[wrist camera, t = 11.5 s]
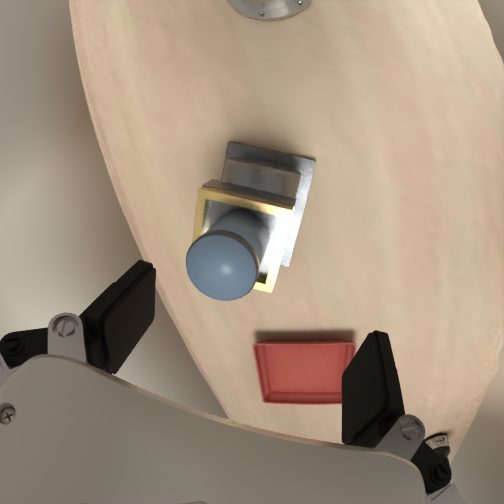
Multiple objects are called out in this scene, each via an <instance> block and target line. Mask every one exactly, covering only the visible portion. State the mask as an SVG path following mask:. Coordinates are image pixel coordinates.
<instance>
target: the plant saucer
mask: <svg viewBox="0 0 504 504" xmlns="http://www.w3.org/2000/svg"><path fill="white" fill-rule="evenodd" d="M253 352H254V357H255V363H256V368H257V374H258V379H259V385H260V390H261V396H262V401H263V402H264V403H274V404H302V405H306V404H307V405H325V404H342V374H343V372H344V371H345V369H346V368H347V366H348V365H349V363H350V362H351V360H352V359H353V357H354V356H355V354H356V344H355V343H353V342H350V341H345V340H331V341H262V342H258V343H255V344H254V345H253Z"/></svg>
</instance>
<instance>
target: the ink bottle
mask: <svg viewBox="0 0 504 504" xmlns="http://www.w3.org/2000/svg"><path fill="white" fill-rule="evenodd" d="M424 442H426V443H427V444H428V445H429V446H430V447H431V448H432V449H433V450H434V451H435V452H436V453H437V454H438V455H439V456H440V457H441V458H443V459H444V460H445V461H446V462H447V463H448V465H449V460H448V457H447V456H448V455H449V453H450V447H449V442H448V437H447V435H446V434H436V435H433V436H430V437H428V438H427V439H425V440H424Z"/></svg>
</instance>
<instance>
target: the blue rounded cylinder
mask: <svg viewBox="0 0 504 504" xmlns="http://www.w3.org/2000/svg"><path fill="white" fill-rule="evenodd" d="M267 246H268V233H267V230H266V228H265V226H264V224H263V223H262V222H261V221H260V220H259V219H258V218H257V217H256V216H254V215H253V214H251V213H248V212H245V211H231V212H228V213H226V214H224V215H223V216H221V217H220V218H219V219H218V220H217V221H216V222H215V223H214V224H213V225H212V226H211V227H210V228H209V229H208V230H207V231H206V233H204V234H202V235H201V236H199V237H198V238H197V239H196V240H195V241H194V242H193V243H192V245H191V246H190V248H189V250H188V252H187V256H186V268H187V273H188V275H189V278H190V280H191V281H192V283H193V284H194V285H195V287H196V288H197V289H198V290H199V291H201V292H202V293H203V294H205V295H206V296H208V297H211V298H213V299H216V300H222V301H230V300H235V299H239V298H241V297H243V296H245V295H246V294H248V293H249V292H250V291H251V290H252V288H253V287H254V285H255V283H256V281H257V278H258V275H259V270H260V265H261V263H262V260H263V257H264V255H265V252H266V249H267Z"/></svg>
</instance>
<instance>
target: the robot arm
mask: <svg viewBox="0 0 504 504" xmlns="http://www.w3.org/2000/svg"><path fill="white" fill-rule="evenodd" d="M311 1H312V0H228V2H229V3H230V5H231V6H232V7H233V8H234V9H235V10H236V11H238V12H239V13H240V14H242V15H244V16H246V17H249V18H252V19H256V20H263V21H274V20H282V19H285V18H289V17H291V16H294V15H296V14H298V13H299V12H301V11H303V10H304V9H305V8H306V7H307V6H308V5H309V4H310V2H311ZM299 4H302V5H299ZM261 15H264V16H261ZM155 281H156V269H155V268H153V264H152V263H149V262H146V261H143V260H139V261H137V262H136V263H135V264H134V265H133V266H132V267H131V268H130V269H129V270H128V271H127V272H126V273H125V274H124V275H122V276H121V277H120V278H119V279H118V280H117V281H116V282H114V283H112V284H111V285H110V286H109V287H108V288H107V289H106V290H105V291H104V292H103V293H102V294H101V295H100V296H99V297H98V298H97V299H96V300H95V301H94V302H93V303H92V304H91V305H90V306H89V307H88V308H87V309H86V310H85V311H84V312H83V313H82V314H81V315H80V316H79V317H78V316H77V315H75V314H72V313H61V314H58V315H56V316H55V317H54V318H52V319H51V321H50V322H49V326H48V328H41V329H33V330H26V331H17V332H12V333H8V334H7V335H5V336H4V337H3V338H2V339H1V341H0V504H466V503H465V501H464V500H463V498H462V496H461V494H460V493H459V491H458V489H457V487H456V486H455V484H454V483H452V484H451V483H450V480H451V475H452V474H451V469H450V466H449V465H448V463H447V462H446V461H445V460H444V459H443V458H441V457H440V456H439V455H438V454H437V453H436V452H435V451H434V450H433V449H432V448H431V447H430V446H429V445H428V444H427V443H426V442H424V441H423V439H424V437H425V428H424V425H423V423H422V422H421V421H420V420H419V418H417V417H415V416H413V415H410V414H406V415H405V410H404V405H403V399H402V393H401V388H400V383H399V378H398V373H397V369H396V366H395V362H394V357H393V353H392V349H391V344H390V340H389V336H388V334H387V333H385V332H381V331H377V330H375V331H373V333H369V334H368V335H367V337H366V339H365V340H364V342H363V343H362V345H361V347H360V348H359V350H358V351H357V353H356V354H355V356H354V357H353V359H352V360H351V362H350V363H349V365H348V366H347V368H346V369H345V371H344V372H343V374H342V443H345V444H338V443H331V442H325V441H319V440H313V439H307V438H301V437H296V436H291V435H286V434H282V433H277V432H273V431H269V430H264V429H260V428H256V427H252V426H249V425H245V424H241V423H238V422H234V421H231V420H227V419H224V418H221V417H218V416H214V415H211V414H208V413H205V412H202V411H199V410H196V409H194V408H191V407H188V406H185V405H182V404H180V403H177V402H174V401H172V400H169V399H167V398H164V397H161V396H159V395H157V394H154V393H152V392H150V391H147V390H145V389H143V388H140V387H138V386H136V385H134V384H131V383H129V382H127V381H125V380H122V379H120V378H118V377H116V376H114V375H112V373H113V374H116V373H117V372H118V370H119V368H120V367H121V366H122V364H123V363H124V362H125V360H126V359H127V357H128V356H129V354H130V353H131V351H132V350H133V349H134V347H135V346H136V344H137V343H138V342H139V340H140V339H141V337H142V336H143V334H144V333H145V332H146V330H147V329H148V327H149V326H150V325H151V323H152V322H153V319H154V314H155Z"/></svg>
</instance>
